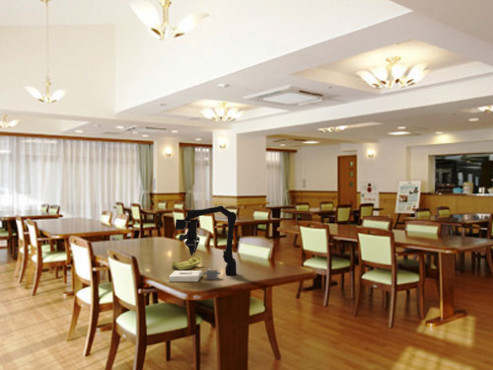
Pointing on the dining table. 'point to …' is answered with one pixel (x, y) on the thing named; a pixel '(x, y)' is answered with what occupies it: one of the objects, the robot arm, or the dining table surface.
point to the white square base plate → (185, 276)
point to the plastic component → (187, 263)
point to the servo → (211, 274)
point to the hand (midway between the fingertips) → (193, 254)
